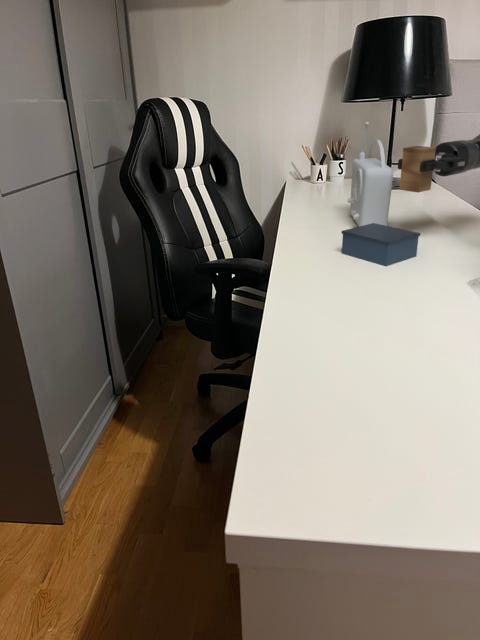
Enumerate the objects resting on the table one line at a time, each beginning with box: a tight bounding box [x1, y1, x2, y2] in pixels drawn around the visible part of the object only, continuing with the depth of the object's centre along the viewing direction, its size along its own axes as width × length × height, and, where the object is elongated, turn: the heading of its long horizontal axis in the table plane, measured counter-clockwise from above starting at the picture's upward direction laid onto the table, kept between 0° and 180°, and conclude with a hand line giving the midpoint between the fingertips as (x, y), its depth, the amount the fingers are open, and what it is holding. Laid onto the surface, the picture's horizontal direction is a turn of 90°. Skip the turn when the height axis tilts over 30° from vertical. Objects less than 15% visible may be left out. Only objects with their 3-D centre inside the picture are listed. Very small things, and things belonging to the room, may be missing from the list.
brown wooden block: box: [398, 145, 436, 193], centre depth 110 cm, size 5×5×9 cm
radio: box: [347, 121, 394, 227], centre depth 129 cm, size 22×8×25 cm, turn 177°
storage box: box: [341, 223, 421, 267], centre depth 107 cm, size 12×10×5 cm
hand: (410, 165), depth 108 cm, fingers closed on brown wooden block, 5 cm apart
